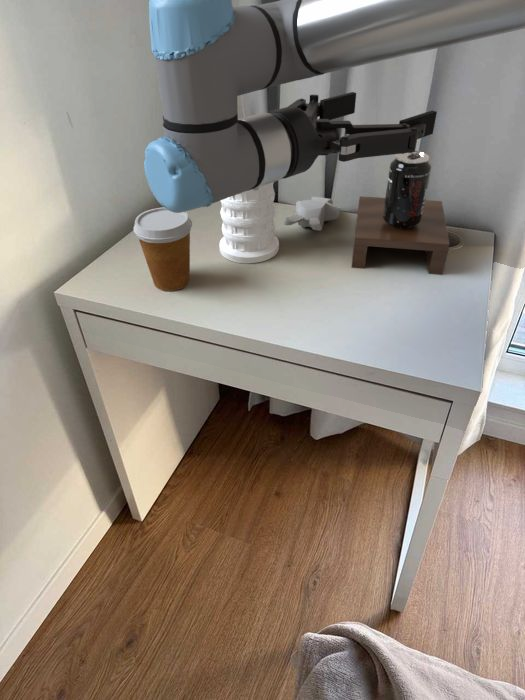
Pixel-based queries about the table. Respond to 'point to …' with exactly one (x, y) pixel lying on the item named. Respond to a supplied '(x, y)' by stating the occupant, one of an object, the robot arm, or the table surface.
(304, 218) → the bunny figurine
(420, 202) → the beverage can
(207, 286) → the table surface
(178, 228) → the disposable coffee cup
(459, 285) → the table surface
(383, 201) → the shelf
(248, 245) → the decorative container
